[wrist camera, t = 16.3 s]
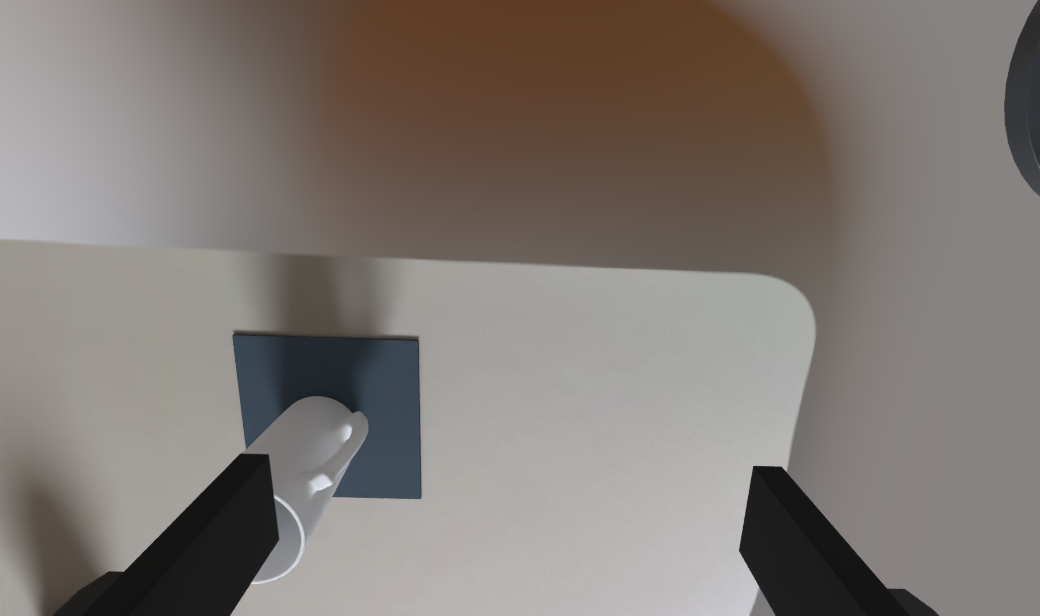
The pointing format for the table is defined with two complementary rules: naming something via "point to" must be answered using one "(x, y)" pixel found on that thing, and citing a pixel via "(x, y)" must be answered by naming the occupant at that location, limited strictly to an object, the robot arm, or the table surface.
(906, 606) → the robot arm
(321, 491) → the mug
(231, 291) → the table surface
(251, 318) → the table surface
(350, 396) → the mat
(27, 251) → the table surface
